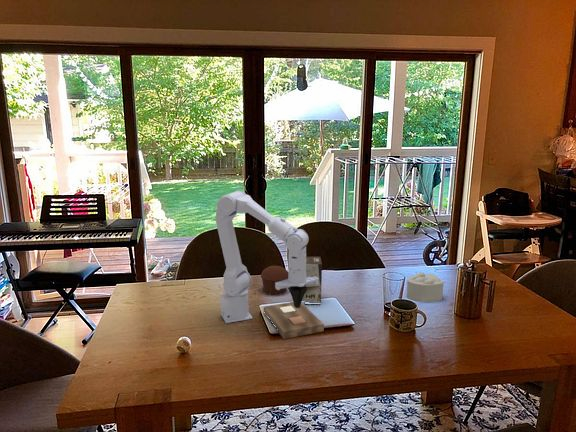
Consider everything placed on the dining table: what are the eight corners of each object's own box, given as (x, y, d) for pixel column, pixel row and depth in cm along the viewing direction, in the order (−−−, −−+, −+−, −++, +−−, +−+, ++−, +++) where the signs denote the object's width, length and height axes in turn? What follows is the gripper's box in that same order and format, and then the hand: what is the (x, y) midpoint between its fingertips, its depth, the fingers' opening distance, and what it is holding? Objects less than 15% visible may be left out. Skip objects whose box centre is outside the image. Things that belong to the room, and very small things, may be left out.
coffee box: (321, 305, 167) (322, 264, 163) (304, 305, 167) (304, 263, 163) (320, 295, 176) (320, 256, 172) (303, 295, 176) (304, 256, 172)
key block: (283, 339, 142) (283, 331, 142) (263, 313, 160) (263, 306, 160) (323, 331, 147) (323, 324, 147) (299, 307, 165) (299, 300, 165)
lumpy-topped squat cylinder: (445, 301, 171) (447, 279, 169) (413, 303, 168) (414, 281, 166) (432, 290, 181) (433, 270, 179) (401, 292, 178) (402, 272, 176)
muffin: (256, 294, 177) (256, 270, 175) (266, 284, 187) (265, 261, 185) (285, 297, 174) (285, 273, 171) (293, 287, 184) (293, 264, 182)
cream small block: (284, 319, 155) (283, 312, 154) (279, 314, 159) (279, 307, 158) (295, 317, 157) (295, 310, 156) (291, 312, 161) (291, 305, 160)
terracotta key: (293, 330, 147) (293, 323, 146) (288, 325, 151) (288, 318, 150) (306, 328, 148) (306, 321, 148) (300, 322, 152) (301, 316, 152)
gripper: (280, 274, 139) (280, 315, 142) (322, 268, 144) (322, 307, 147) (272, 267, 145) (273, 306, 148) (313, 262, 150) (313, 299, 154)
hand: (297, 306), depth 148 cm, fingers closed
